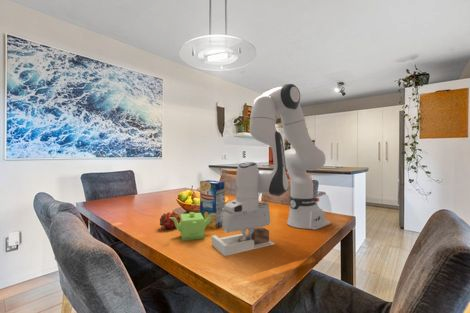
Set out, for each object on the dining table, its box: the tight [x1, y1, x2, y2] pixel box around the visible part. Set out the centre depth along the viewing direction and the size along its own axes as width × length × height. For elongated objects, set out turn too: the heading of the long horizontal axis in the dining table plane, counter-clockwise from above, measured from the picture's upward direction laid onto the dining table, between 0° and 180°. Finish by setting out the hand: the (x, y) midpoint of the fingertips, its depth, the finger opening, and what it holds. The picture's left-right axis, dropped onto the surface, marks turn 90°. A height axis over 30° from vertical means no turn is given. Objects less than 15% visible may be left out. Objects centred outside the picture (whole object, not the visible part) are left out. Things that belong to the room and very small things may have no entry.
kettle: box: [170, 211, 211, 242], centre depth 101 cm, size 15×14×11 cm
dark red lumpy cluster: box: [159, 211, 181, 230], centre depth 115 cm, size 8×8×12 cm
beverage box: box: [199, 179, 226, 229], centre depth 120 cm, size 7×11×22 cm, turn 53°
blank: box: [239, 226, 270, 245], centre depth 93 cm, size 11×5×4 cm, turn 118°
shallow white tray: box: [211, 233, 275, 257], centre depth 91 cm, size 22×11×5 cm, turn 119°
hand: (247, 239), depth 92 cm, fingers closed
